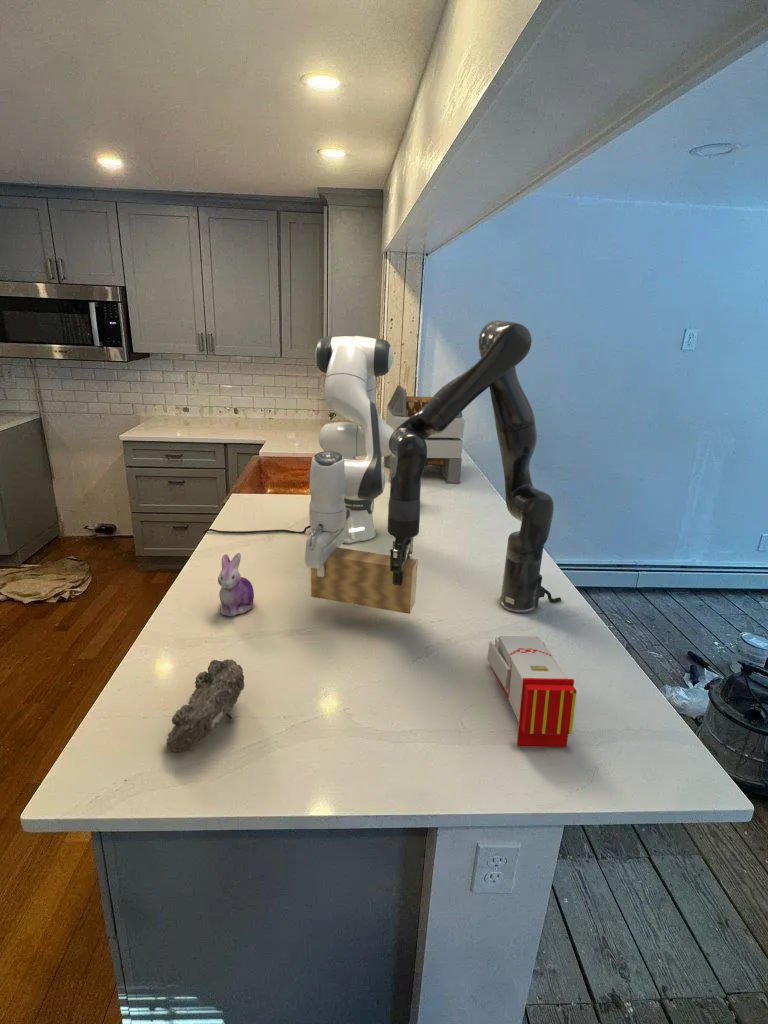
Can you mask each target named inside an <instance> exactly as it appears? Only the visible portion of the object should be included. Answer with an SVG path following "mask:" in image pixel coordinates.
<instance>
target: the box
mask: <svg viewBox="0 0 768 1024" xmlns="http://www.w3.org/2000/svg"><path fill="white" fill-rule="evenodd" d="M402 558H404V557H402ZM418 565H419V559H418V558H407V561H406V562H404V567H403V577H402V584H401V585H400V586H399V585H394V584H393V571H390V554H384V553H379V552H378V553H376V552H371V551H364V550H357V549H351V548H345V547H339V548H337V549H336V550H335V551H334V552H333V553H332V554H331V555H330V556H329V558H328V559H327V560H326V562H325V564H324V568H326V574H325V575H324V577H319V576H317V569H316V568H311V567H310V597H311V598H316V599H321V600H327V601H333V602H338V603H339V602H340V603H345V604H351V605H355V606H356V605H357V606H362V607H368V608H373V609H378V610H379V609H380V610H386V611H391V612H396V613H403V614H408V615H410V614H411V612H412V610H413V609H414V607H415V604H416V598H417V597H416V595H417V581H418V580H417V578H418ZM396 566H398V564H396Z"/></svg>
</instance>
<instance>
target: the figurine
mask: <svg viewBox="0 0 768 1024" xmlns="http://www.w3.org/2000/svg"><path fill="white" fill-rule="evenodd" d="M241 557H242V554H241V553H240V552H237V553H236V554H235V555H234V557H232V559H231V560H230V557H229V555H228V554H227V553H224V554H222V557H221V570H220V573H219V574H218V577H217V583H218V585H219V586H220V587H221V588H220V590H219V593H218V596H219V597H218V598H219V601H220V604H221V608H220V614H221V615H223V616H228V617H234V616H237V615H242V614H245V613H246V612H249V611H250V610H251V609H253V607H254V598H255V592H254V591H255V590H254V587H253V584H252V583H251V581H250V580H249V579H247V578H246V577H245V576H241V573H240V572H239V567H240V563H241V560H242V559H241Z"/></svg>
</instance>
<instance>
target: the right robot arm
mask: <svg viewBox="0 0 768 1024" xmlns="http://www.w3.org/2000/svg"><path fill="white" fill-rule="evenodd" d="M478 337H479V338H478V350H479V351H478V352H479V354H480V355H479V356H480V359H479V360H478V361H477V362H476V363H475V364H474V365H472V366H471V367H469V369H467V370H465V371H464V372H463V373H461V374H460V375H458V376H457V377H455V378H454V379H452V380H450V381H448V383H446V384H444V386H442V387H441V388H440V389H438V391H437V392H436V393H435V394H434V395H433V396H431V397H432V398H431V399H430V400H429V401H428V402H427V403H426V404H425V406H424V407H423V408H422V409H421V410H420V411H419V412H418V413H416V414H414V415H413V416H411V417H410V418H409V419H408V420H406V421H405V422H403V423H402V424H401V425H400V426H399V427H398V428H397V429H396V430H395V431H394V432H393V433H392V435H391V437H390V439H389V449H390V451H391V452H392V454H393V455H395V456H396V457H397V468H396V471H395V472H394V473H393V474H392V476H391V480H390V486H389V487H390V489H389V500H388V508H387V529H386V530H387V534H389V535H390V536H392V537H393V538H394V540H393V541H392V544H391V545H392V546H391V549H390V550H389V555H390V571H393V584H394V585H399V586H400V585H401V584H402V577H403V567H404V562H406V561H407V558H411V557H412V556H411V555H412V554H413V547H414V538H415V537H416V536H418V535H419V533H420V524H421V521H420V519H421V491H422V490H421V489H422V488H421V487H422V477H423V474H424V471H425V467H426V466H425V464H426V460H427V444H426V441H425V440H426V439H427V438H428V437H429V436H431V435H432V434H439V433H441V432H442V431H443V430H445V429H446V428H447V426H449V425H450V423H451V422H452V421H453V420H454V419H455V418H456V417H457V416H458V415H459V414H460V413H461V412H462V413H463V411H464V410H465V409H466V408H467V407H468V406H470V404H472V402H473V401H474V400H475V399H477V397H479V396H480V395H482V393H484V392H485V391H486V390H487V389H489V393H490V399H491V405H492V410H493V417H494V421H495V422H494V423H495V431H496V435H497V440H498V446H499V450H500V456H501V463H502V470H503V476H504V493H505V494H504V495H505V504H506V508H507V511H508V513H509V514H510V515H511V516H512V517H513V518H514V519H516V520H518V521H519V522H521V524H520V528H519V530H518V531H514V532H511V533H510V534H509V535H508V538H507V545H506V546H507V547H506V554H505V560H504V569H503V577H502V585H501V592H500V598H499V604H500V606H501V607H502V608H504V609H505V610H507V611H509V612H513V613H517V614H527V613H531V612H533V611H534V610H535V609H538V607H539V601H540V599H541V598H545V595H547V599H548V601H549V602H550V603H557V602H561V601H562V598H561V597H556V598H553V597H552V593H551V592H550V591H549V590H547V589H546V588H545V587H544V586H543V585H542V581H543V576H542V574H540V573H541V567H542V561H543V555H544V554H543V553H544V547H545V544H546V543H547V540H548V539H549V535H550V530H551V526H552V523H553V517H554V508H555V506H554V500H553V498H552V496H551V495H550V494H548V493H547V492H544V491H543V490H540V489H538V488H537V487H534V485H533V481H532V478H531V471H530V464H531V460H532V457H533V454H534V452H535V449H536V446H537V442H538V435H537V434H538V433H537V432H538V431H537V427H536V419H535V415H534V411H533V408H532V405H531V403H530V401H529V399H528V398H527V395H526V394H525V392H524V390H523V388H522V385H521V383H520V380H519V379H518V375H517V370H516V366H518V365H519V364H520V363H521V362H523V360H524V359H525V358H526V357H527V356H528V354H529V352H530V350H531V347H532V342H533V341H532V340H533V339H532V334H531V332H530V330H529V329H528V328H527V327H526V326H525V325H523V324H521V323H519V322H514V321H507V320H506V321H505V320H492V321H488V323H486V324H485V325H484V326H483V328H482V329H481V331H480V333H479V336H478ZM402 557H404V558H402ZM411 559H412V558H411ZM396 564H398V566H396Z"/></svg>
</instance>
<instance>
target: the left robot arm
mask: <svg viewBox="0 0 768 1024" xmlns="http://www.w3.org/2000/svg"><path fill="white" fill-rule="evenodd" d="M314 358H315V363H316V366H317V368H318V370H319V371H321V372H322V373H324V374H325V378H324V379H325V380H324V391H323V392H324V401H325V404H326V406H327V407H328V408H329V409H330V410H331V411H332V412H333V413H334V414H335V415H337V416H338V417H341V418H343V419H345V420H347V421H335V422H330V423H325V424H324V425H323V426H322V427H321V429H320V431H319V434H318V442H319V446H320V448H321V450H322V451H320V452H317V453H315V454H314V455H313V456H312V458H311V463H310V469H309V473H308V487H309V488H308V490H309V495H310V502H309V507H308V508H309V509H308V510H309V513H308V514H309V515H308V517H309V519H308V521H309V523H308V524H309V525H307V526H305V527H304V528H303V530H302V531H294V530H290V529H264V530H263V529H262V530H260V529H259V530H240V531H239V530H218V529H214V528H207V529H205V530H204V531H202V533H203V534H206V533H208V532H213V533H218V534H259V533H261V534H262V533H291V534H299V535H300V534H301V535H302V534H303V535H304V534H305V533H306V532H307V530H308V529H311V530H310V534H309V535H308V536H307V538H306V542H305V551H304V564H305V566H306V567H308V568H310V569H311V568H316V569H317V576H319V577H324V575H325V574H326V568H324V564H325V562H326V560H327V559H328V558H329V556H330V555H331V554H332V553H333V552H334V551H335V550H336V549H337V548H341V546H342V544H352V543H357V542H365V541H368V540H372V539H373V538H375V537H376V535H377V532H376V528H375V523H374V513H373V512H374V509H375V499H376V498H378V497H380V496H381V495H382V494H383V493H384V490H385V487H386V474H385V469H384V464H383V460H382V458H384V456H390V455H391V454H392V452H391V451H390V449H389V439H390V437H391V435H392V433H393V432H394V429H393V428H392V427H390V426H389V425H388V424H387V423H386V421H385V420H384V419H383V418H382V417H381V415H380V413H379V410H378V406H377V377H382V376H386V375H387V374H388V373H389V372H390V369H391V367H392V365H393V361H394V354H393V350H392V347H391V344H390V343H389V341H388V340H386V339H383V338H380V337H377V338H373V337H369V336H368V337H367V336H362V335H360V336H359V335H354V336H349V335H346V336H343V335H342V336H333V335H328V336H323V337H322V338H321V339H320V340H318V341H317V344H316V348H315V351H314ZM348 421H349V422H348ZM357 457H364V458H363V459H357Z"/></svg>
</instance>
